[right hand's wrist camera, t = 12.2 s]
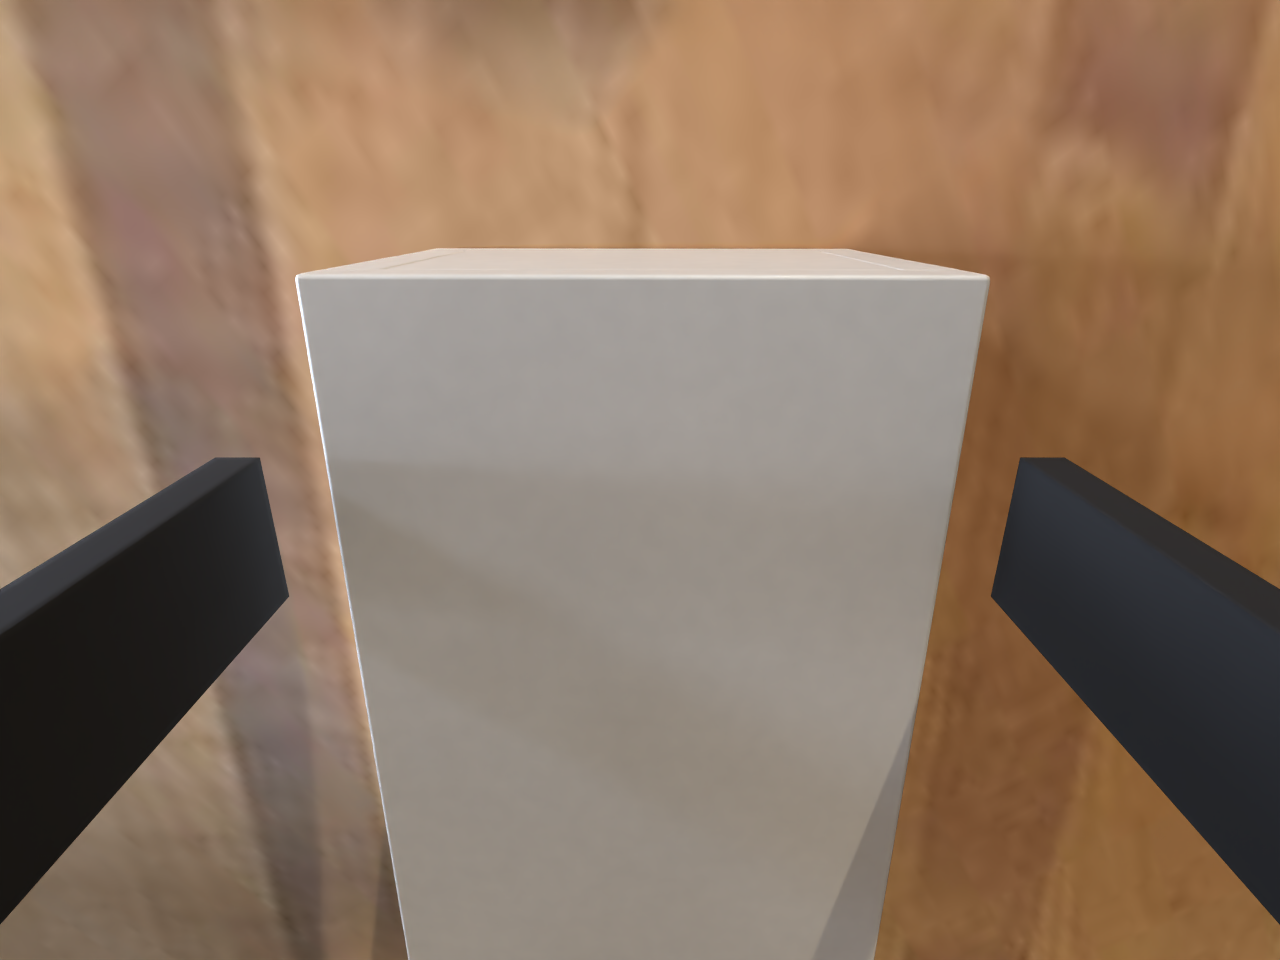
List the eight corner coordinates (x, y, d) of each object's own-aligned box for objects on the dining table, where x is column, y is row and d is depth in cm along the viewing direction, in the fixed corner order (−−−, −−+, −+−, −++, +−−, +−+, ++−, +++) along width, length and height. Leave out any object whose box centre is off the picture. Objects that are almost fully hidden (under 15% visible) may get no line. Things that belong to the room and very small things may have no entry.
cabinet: (793, 794, 25) (860, 1049, 18) (488, 792, 25) (421, 1046, 18) (849, 248, 19) (993, 275, 11) (436, 248, 19) (292, 274, 11)
